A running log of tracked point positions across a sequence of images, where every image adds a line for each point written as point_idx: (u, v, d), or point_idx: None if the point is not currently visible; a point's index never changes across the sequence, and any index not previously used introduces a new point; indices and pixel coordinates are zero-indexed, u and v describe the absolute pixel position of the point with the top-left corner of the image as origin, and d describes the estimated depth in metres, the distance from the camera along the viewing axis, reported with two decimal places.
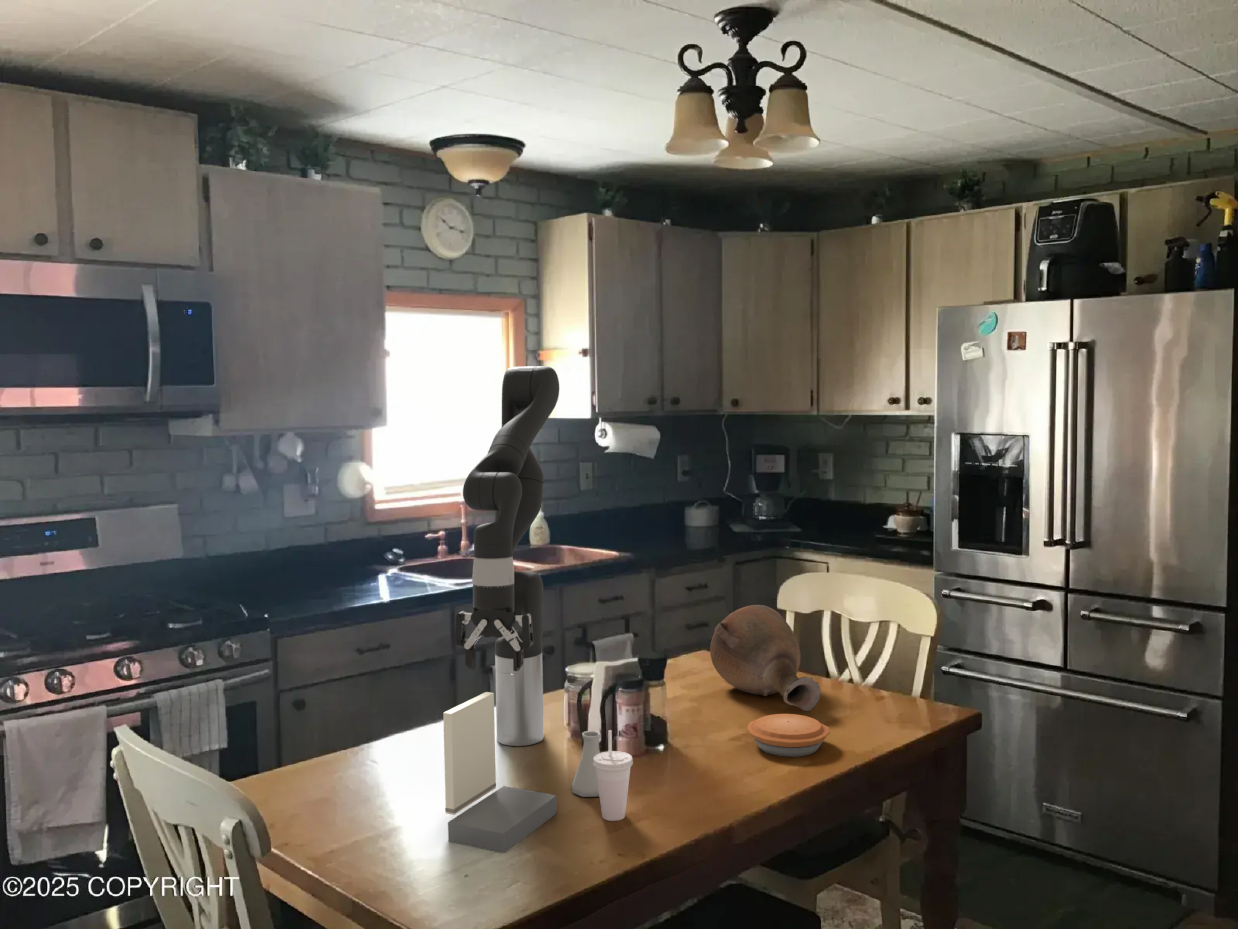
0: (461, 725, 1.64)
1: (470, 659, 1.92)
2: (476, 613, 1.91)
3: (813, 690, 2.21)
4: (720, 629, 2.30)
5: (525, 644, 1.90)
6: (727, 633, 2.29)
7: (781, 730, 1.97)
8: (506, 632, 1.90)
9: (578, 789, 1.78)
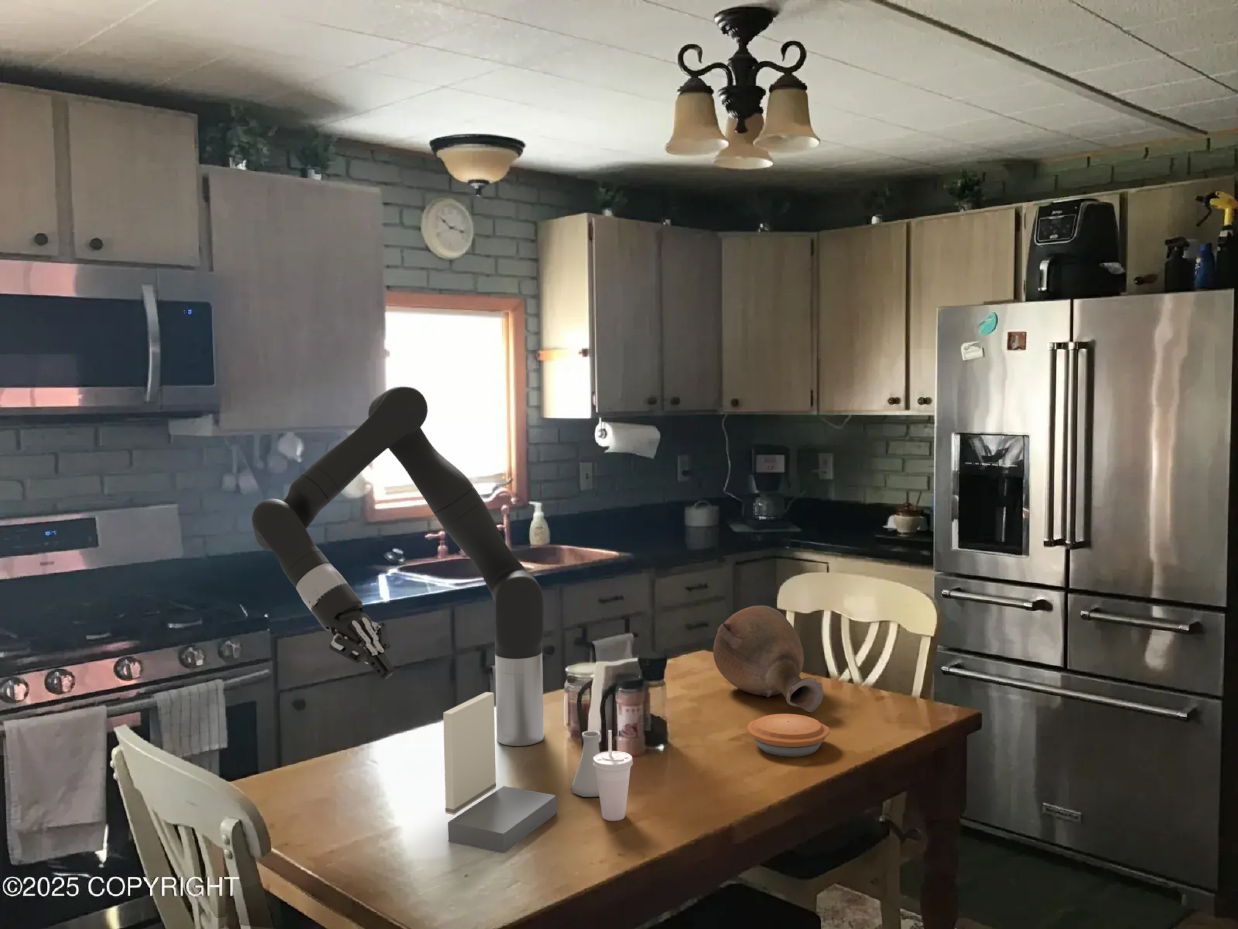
0: (461, 725, 1.64)
1: (384, 662, 1.74)
2: (338, 623, 1.73)
3: (816, 691, 2.21)
4: (723, 630, 2.29)
5: (384, 644, 1.77)
6: (730, 634, 2.28)
7: (781, 730, 1.97)
8: (372, 631, 1.77)
9: (578, 789, 1.78)
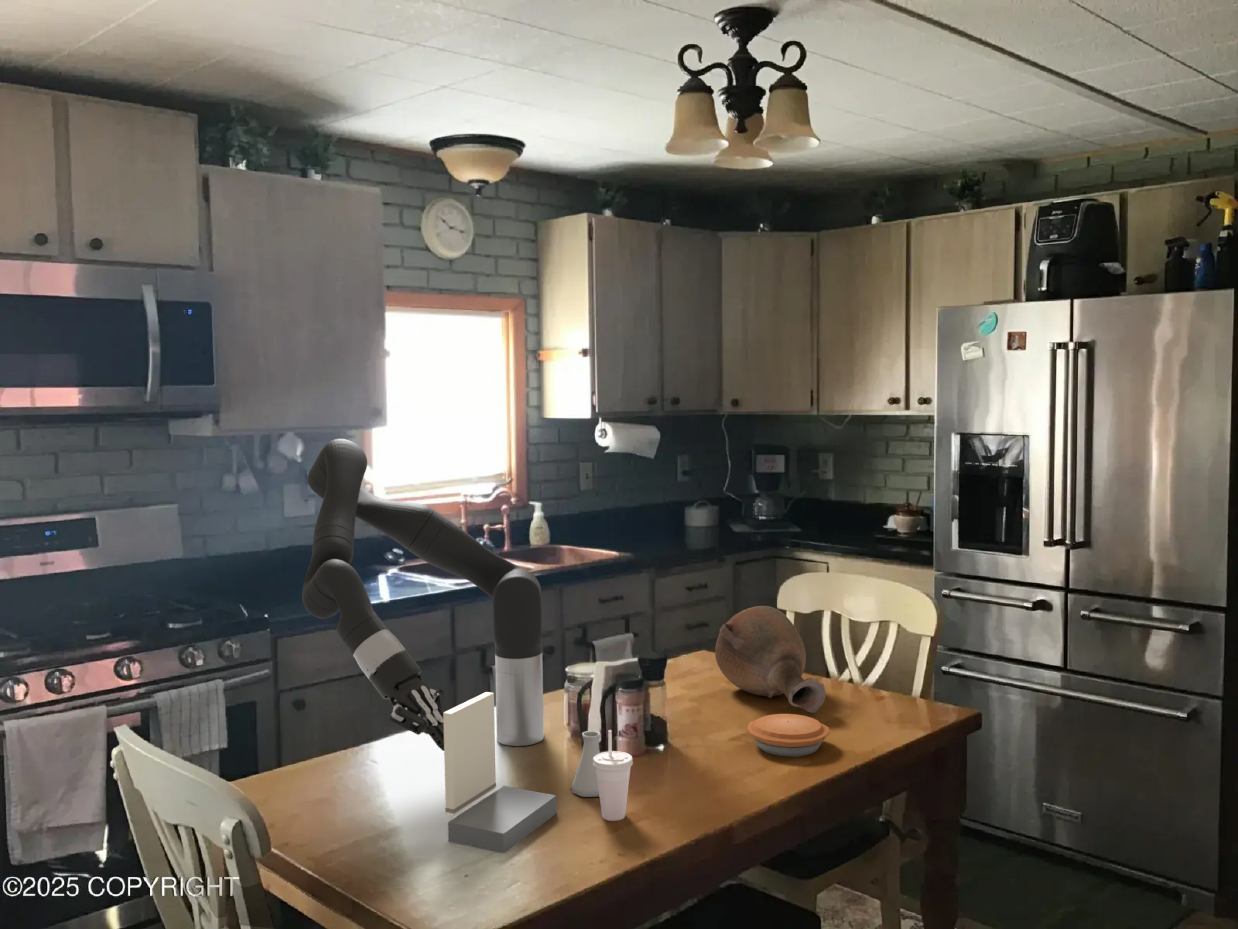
0: (461, 725, 1.64)
1: None
2: (398, 693, 1.69)
3: (818, 692, 2.20)
4: (725, 630, 2.29)
5: None
6: (732, 634, 2.28)
7: (781, 730, 1.97)
8: (432, 700, 1.72)
9: (578, 789, 1.78)
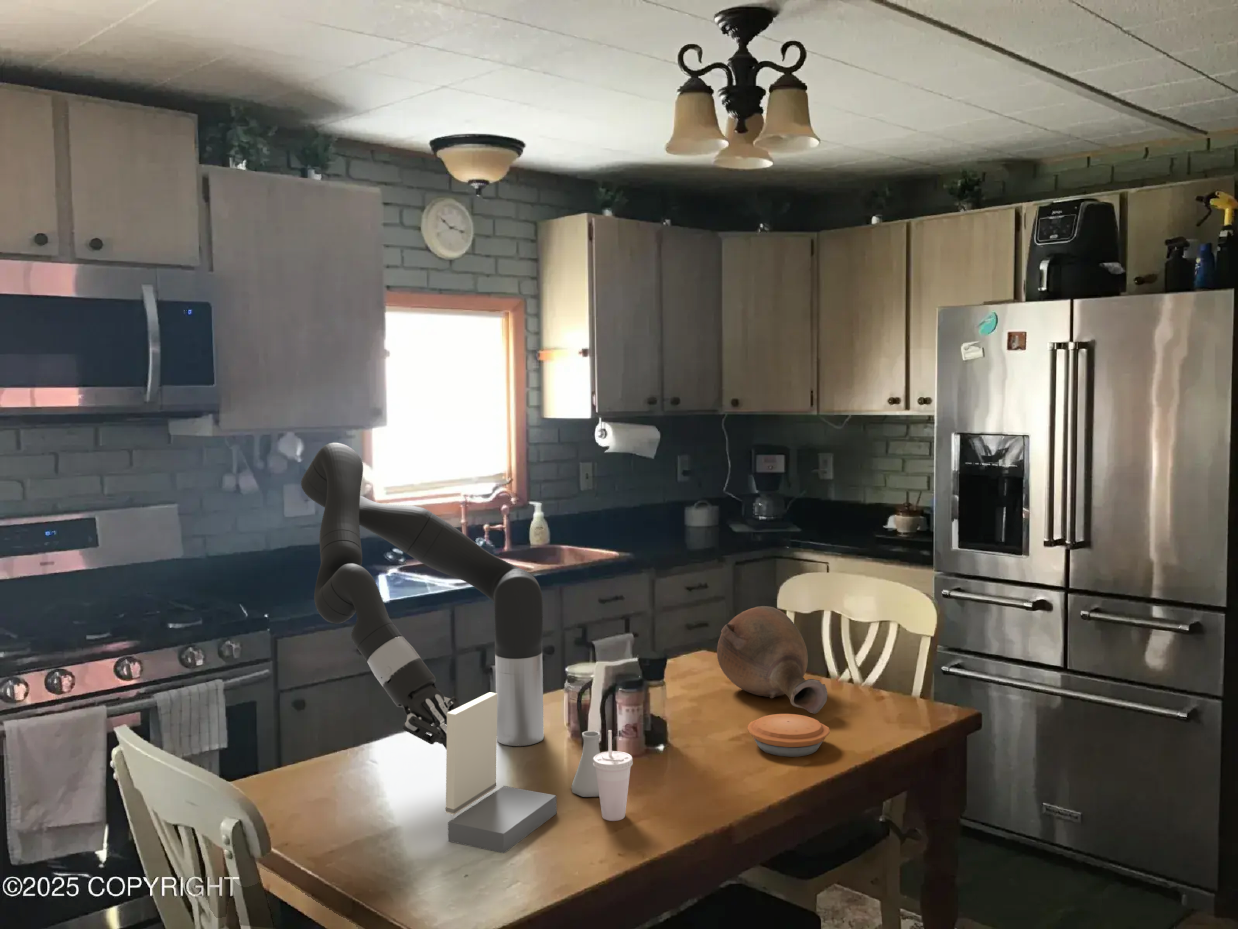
0: (464, 725, 1.64)
1: None
2: (412, 702, 1.67)
3: (820, 692, 2.20)
4: (727, 630, 2.29)
5: None
6: (734, 634, 2.28)
7: (781, 730, 1.97)
8: (446, 709, 1.70)
9: (578, 789, 1.78)
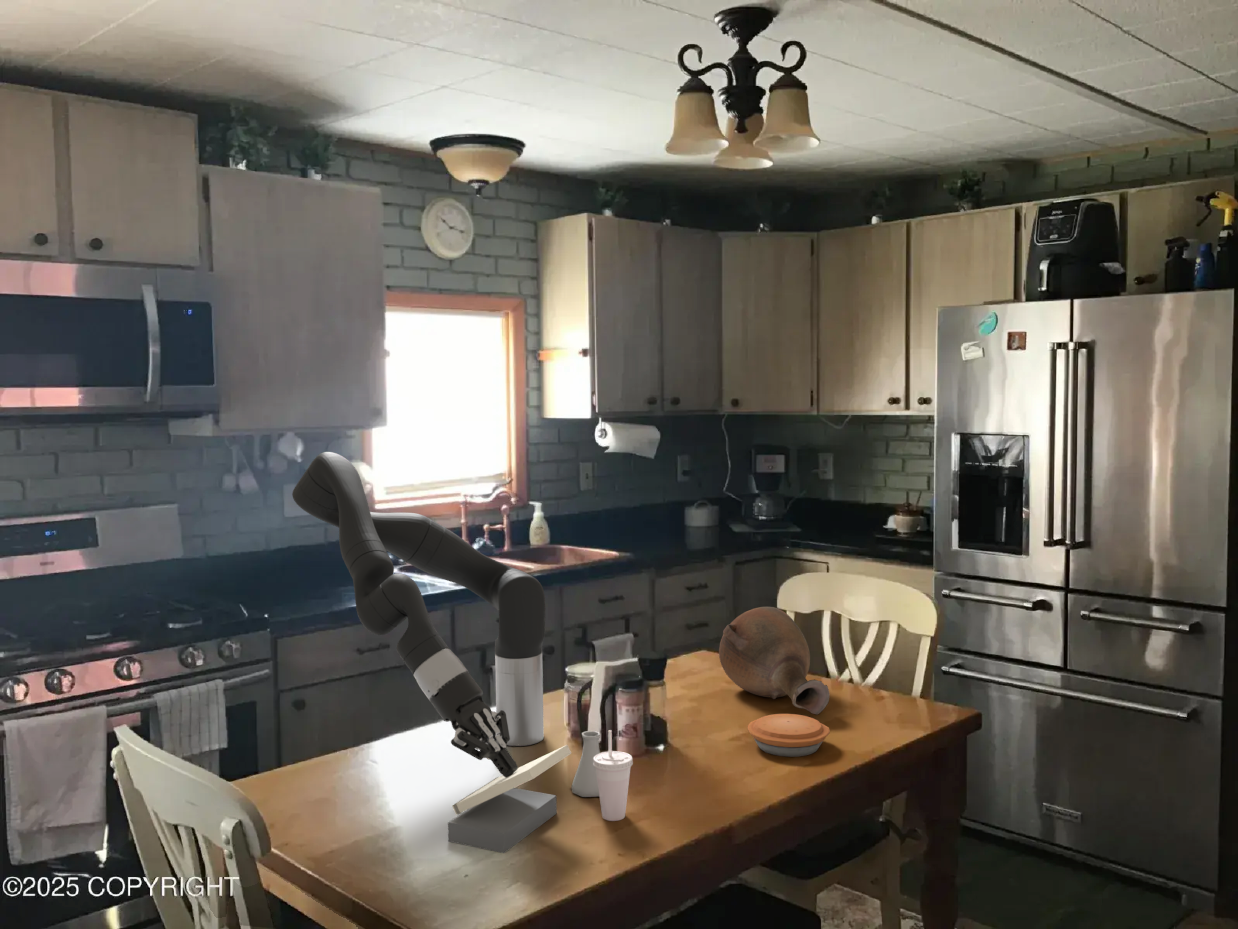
0: None
1: (508, 759, 1.63)
2: (460, 716, 1.63)
3: (822, 693, 2.19)
4: (729, 631, 2.28)
5: (506, 737, 1.67)
6: (736, 635, 2.27)
7: (781, 730, 1.97)
8: (494, 724, 1.66)
9: (578, 789, 1.78)
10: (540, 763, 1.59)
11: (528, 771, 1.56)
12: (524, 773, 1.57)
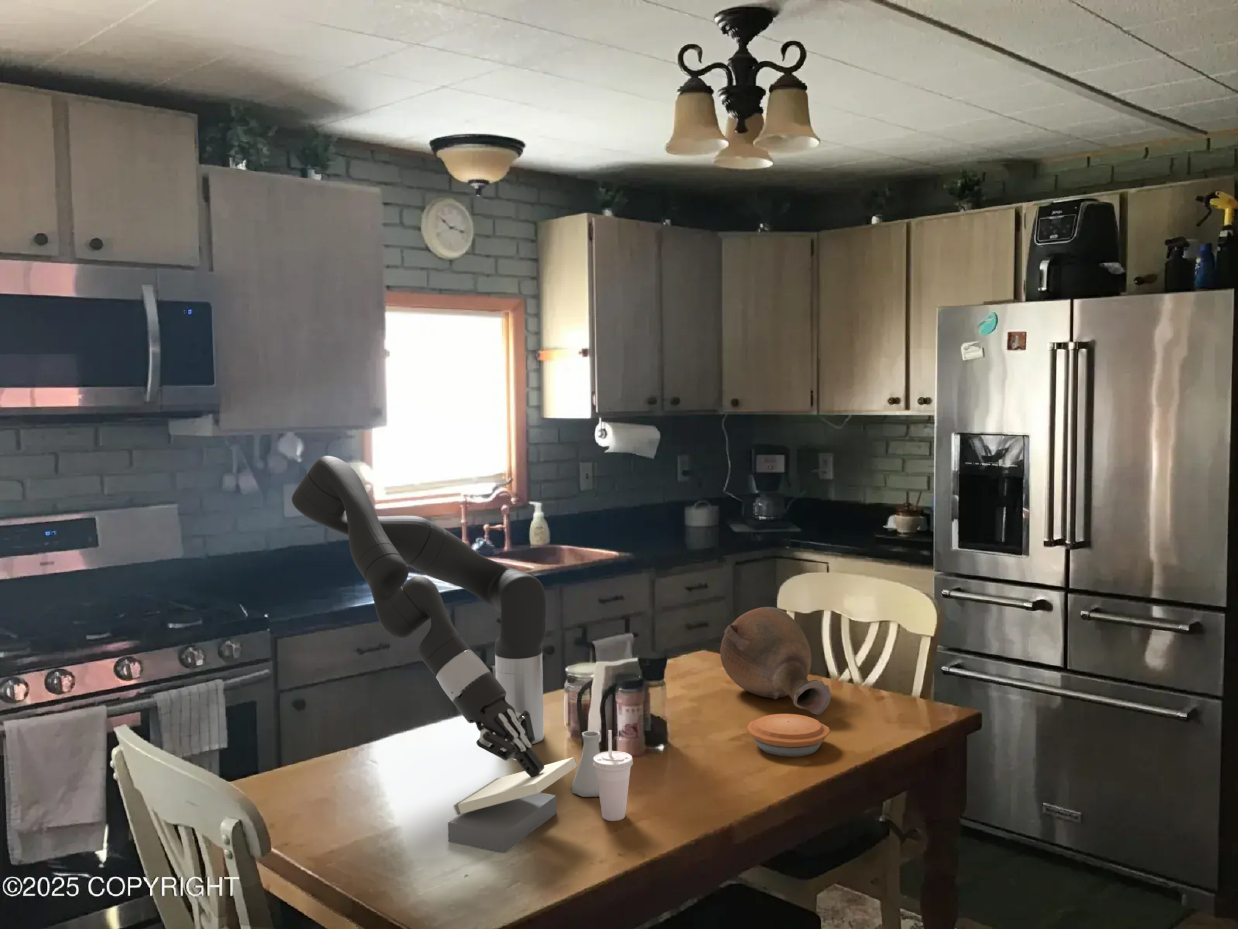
0: None
1: (534, 759, 1.62)
2: (485, 717, 1.62)
3: (823, 693, 2.19)
4: (730, 631, 2.28)
5: (531, 737, 1.65)
6: (737, 635, 2.27)
7: (781, 730, 1.97)
8: (518, 724, 1.65)
9: (578, 789, 1.78)
10: (547, 776, 1.59)
11: (535, 784, 1.56)
12: (530, 786, 1.56)
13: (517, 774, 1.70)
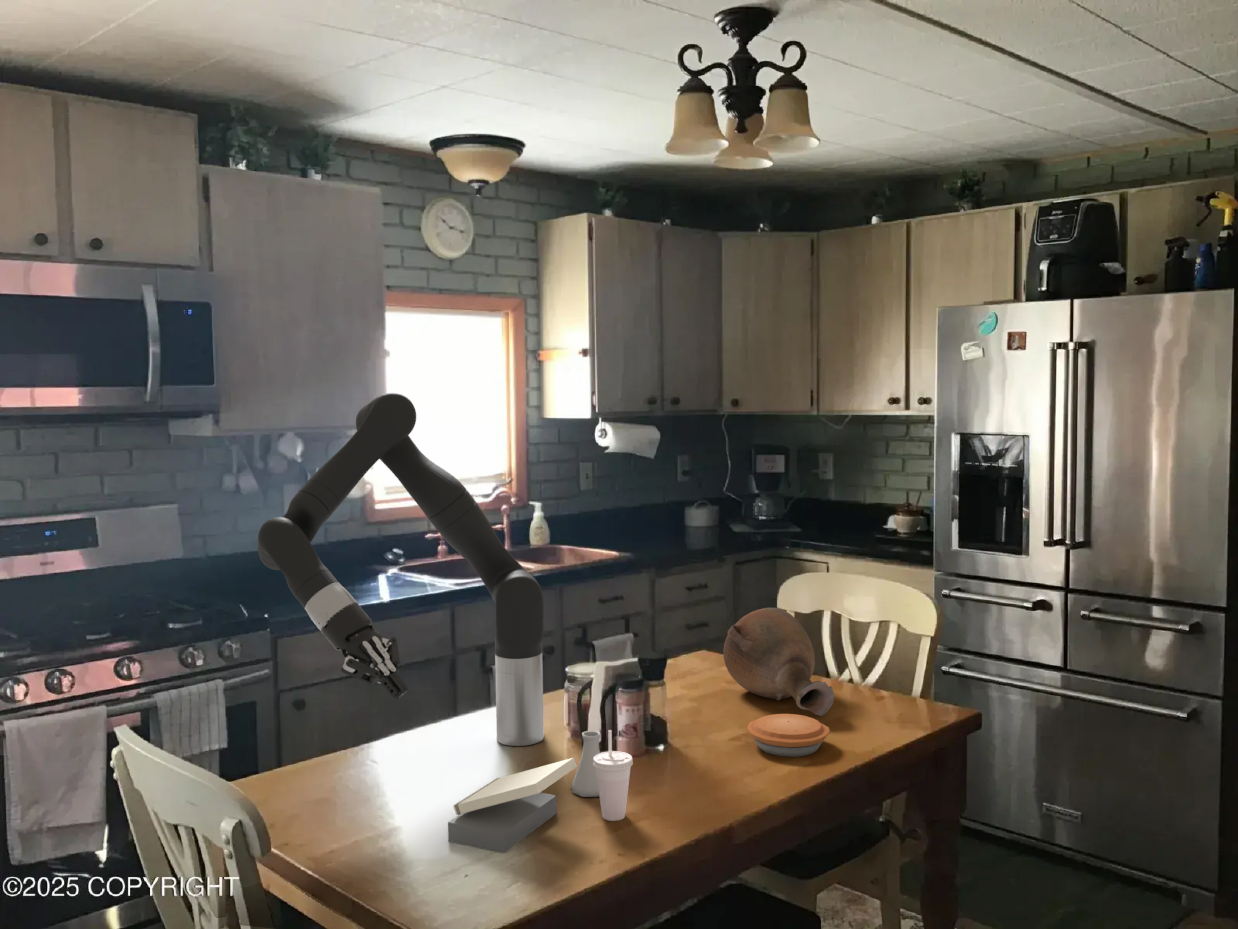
0: None
1: (397, 682, 1.74)
2: (349, 645, 1.73)
3: (826, 695, 2.18)
4: (733, 632, 2.27)
5: (396, 661, 1.77)
6: (740, 636, 2.26)
7: (781, 730, 1.97)
8: (383, 650, 1.76)
9: (579, 789, 1.78)
10: (547, 777, 1.59)
11: (535, 785, 1.56)
12: (531, 786, 1.56)
13: (517, 774, 1.70)
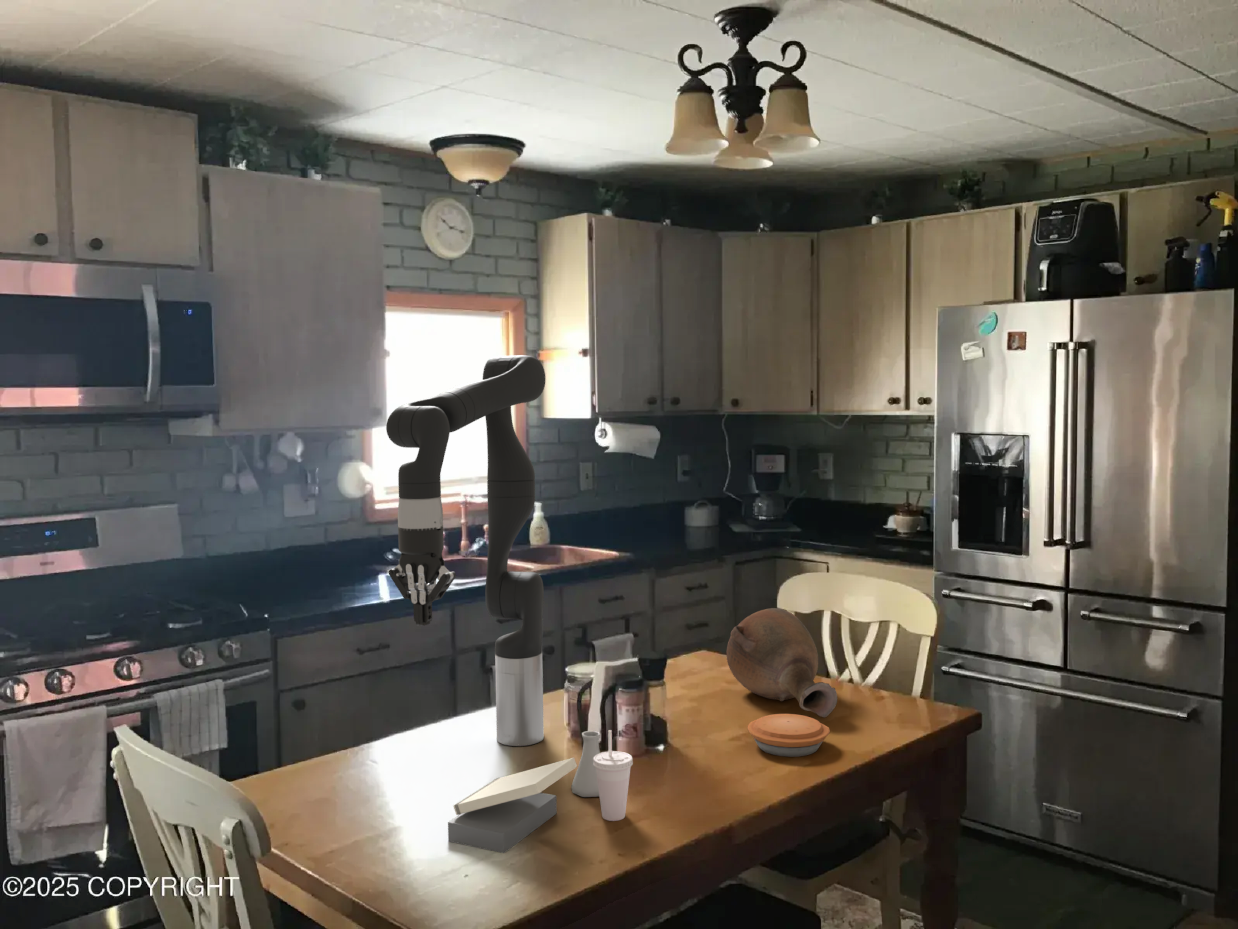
0: None
1: None
2: None
3: (830, 696, 2.17)
4: (736, 633, 2.27)
5: None
6: (743, 637, 2.25)
7: (781, 730, 1.97)
8: None
9: (579, 789, 1.78)
10: (547, 777, 1.59)
11: (535, 785, 1.56)
12: (531, 786, 1.56)
13: (517, 774, 1.70)
